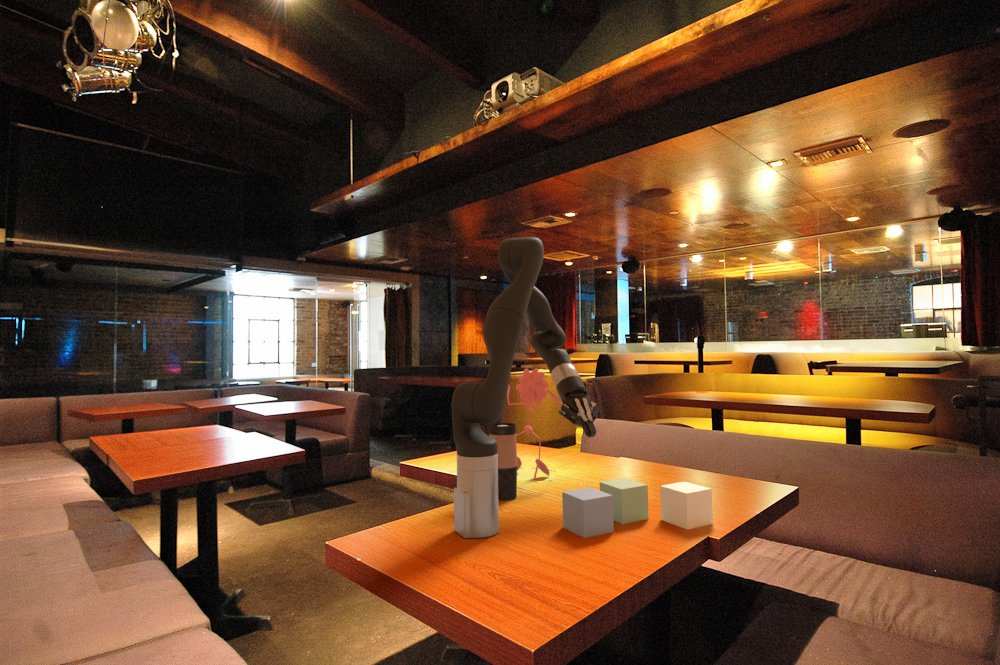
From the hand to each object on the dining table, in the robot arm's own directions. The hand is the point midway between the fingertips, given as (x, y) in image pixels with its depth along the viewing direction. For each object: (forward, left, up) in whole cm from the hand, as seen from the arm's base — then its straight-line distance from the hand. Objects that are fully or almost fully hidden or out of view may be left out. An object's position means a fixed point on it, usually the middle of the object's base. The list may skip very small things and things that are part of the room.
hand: (592, 435), depth 134 cm
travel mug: (-17, +19, -18) cm, 31 cm away
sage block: (0, -11, -18) cm, 21 cm away
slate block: (-13, -14, -18) cm, 26 cm away
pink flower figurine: (+5, +39, -18) cm, 43 cm away
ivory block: (+10, -21, -18) cm, 30 cm away
